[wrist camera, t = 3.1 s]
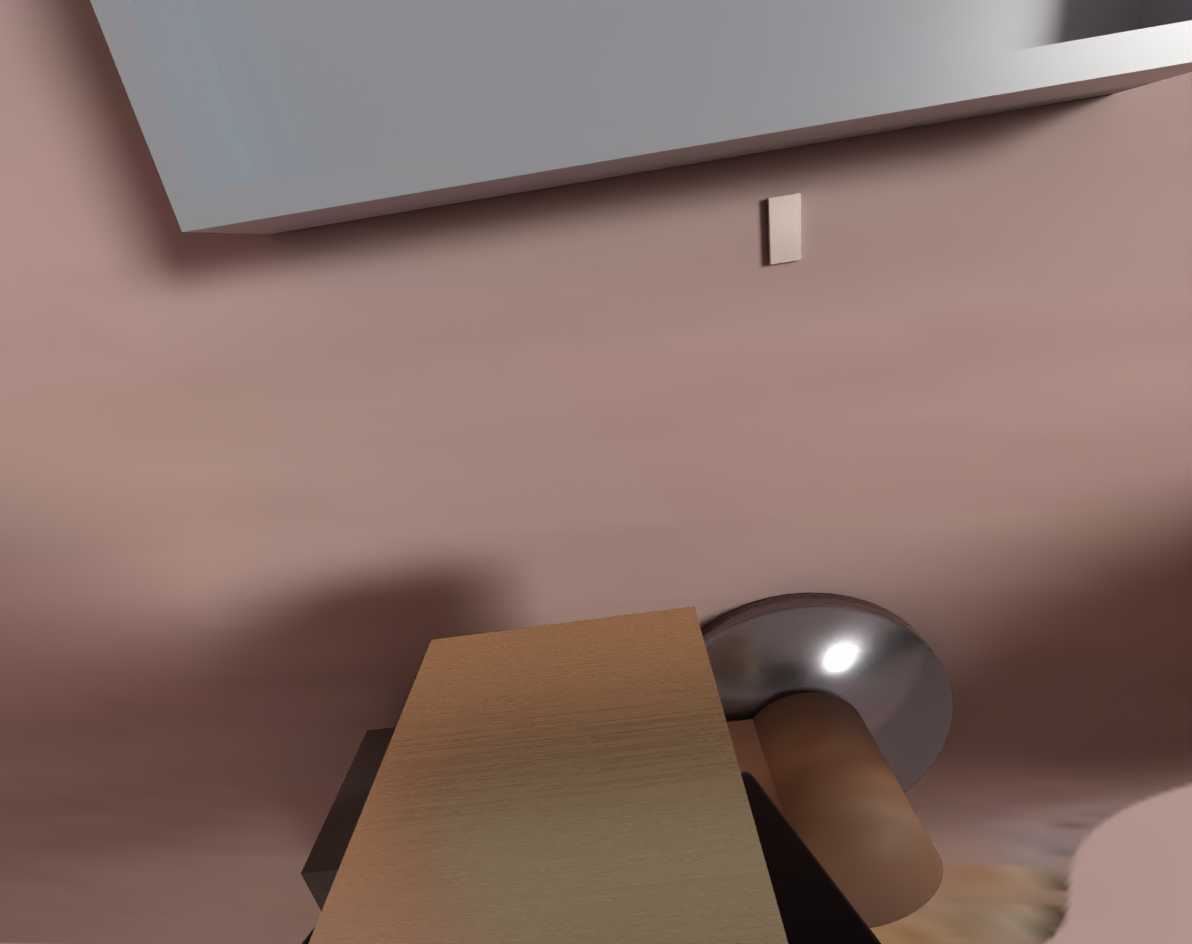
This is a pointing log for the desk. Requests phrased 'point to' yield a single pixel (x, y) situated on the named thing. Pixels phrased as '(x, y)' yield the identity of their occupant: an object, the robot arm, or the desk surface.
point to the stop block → (559, 799)
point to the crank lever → (793, 782)
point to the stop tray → (574, 88)
